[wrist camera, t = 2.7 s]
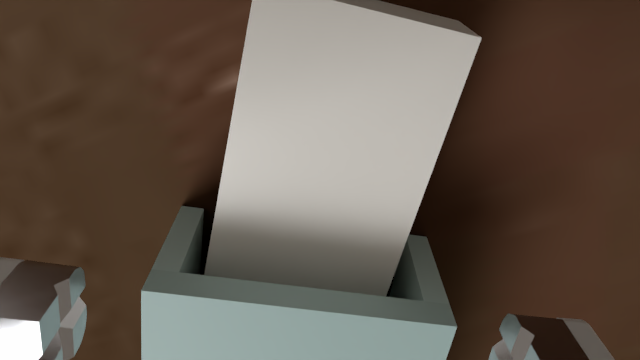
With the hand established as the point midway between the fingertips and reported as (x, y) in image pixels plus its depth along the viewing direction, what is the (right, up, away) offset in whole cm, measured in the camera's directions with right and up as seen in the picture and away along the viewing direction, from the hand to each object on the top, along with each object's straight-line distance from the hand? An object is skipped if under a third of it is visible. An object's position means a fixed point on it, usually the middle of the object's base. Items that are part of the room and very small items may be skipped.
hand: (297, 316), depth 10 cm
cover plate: (0, +2, +9) cm, 9 cm away
